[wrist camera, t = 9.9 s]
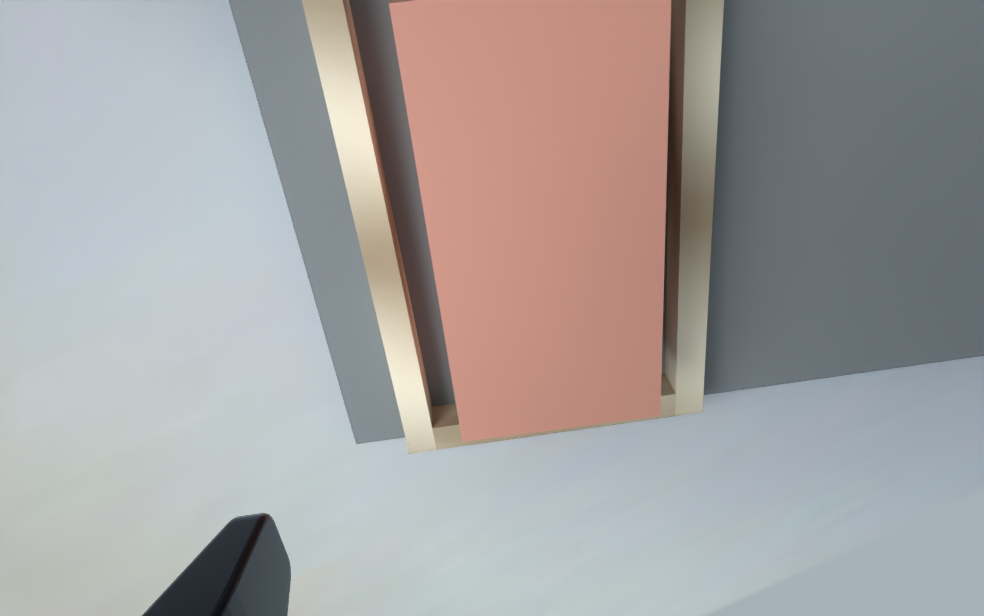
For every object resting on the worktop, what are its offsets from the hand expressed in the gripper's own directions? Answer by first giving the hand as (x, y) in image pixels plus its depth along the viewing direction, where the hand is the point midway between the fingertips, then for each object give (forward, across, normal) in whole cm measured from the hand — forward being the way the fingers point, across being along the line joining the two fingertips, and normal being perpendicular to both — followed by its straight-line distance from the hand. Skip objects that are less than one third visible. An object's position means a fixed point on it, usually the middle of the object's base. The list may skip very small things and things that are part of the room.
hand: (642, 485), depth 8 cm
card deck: (+10, 0, 0) cm, 10 cm away
